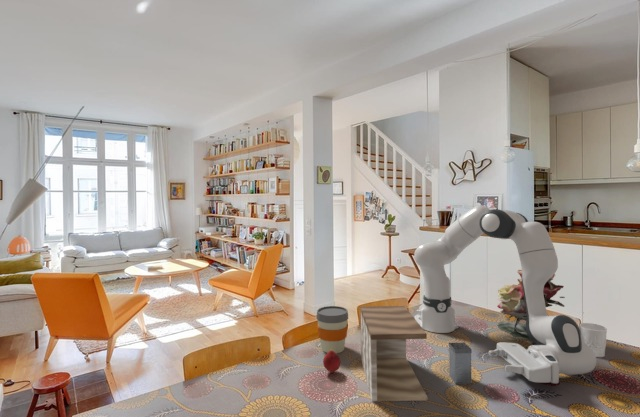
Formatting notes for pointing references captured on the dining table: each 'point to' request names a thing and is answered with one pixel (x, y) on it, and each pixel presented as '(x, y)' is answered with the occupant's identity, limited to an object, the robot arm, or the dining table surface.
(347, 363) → the dining table surface
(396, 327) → the wooden cubby shelf
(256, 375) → the dining table surface
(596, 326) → the white cup
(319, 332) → the reusable coffee cup
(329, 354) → the red rounded piece
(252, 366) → the dining table surface
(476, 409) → the dining table surface
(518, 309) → the rose bouquet
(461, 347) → the tea tin
